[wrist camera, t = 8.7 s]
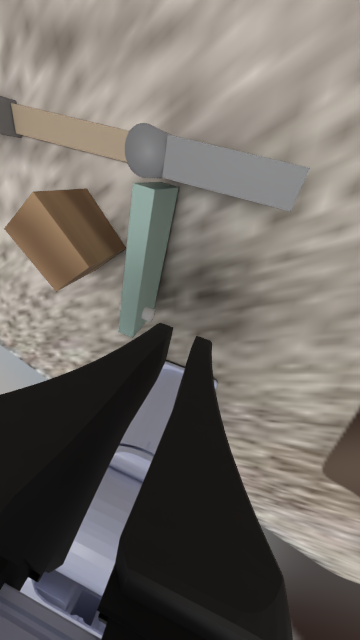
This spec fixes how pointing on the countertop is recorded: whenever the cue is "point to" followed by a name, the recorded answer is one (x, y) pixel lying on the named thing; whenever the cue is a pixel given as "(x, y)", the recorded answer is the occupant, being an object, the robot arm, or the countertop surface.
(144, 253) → the pale green long block
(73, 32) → the countertop surface
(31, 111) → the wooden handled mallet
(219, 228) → the countertop surface
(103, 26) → the countertop surface
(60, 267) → the block
